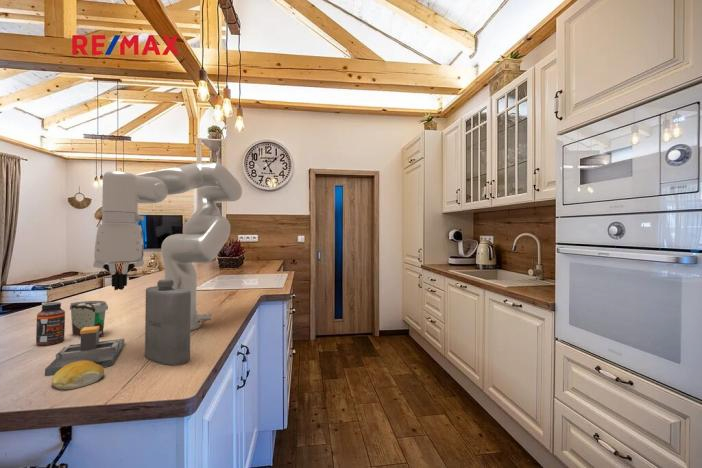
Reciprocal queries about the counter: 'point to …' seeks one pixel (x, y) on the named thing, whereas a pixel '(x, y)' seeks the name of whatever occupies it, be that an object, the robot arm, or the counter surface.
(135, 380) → the counter surface
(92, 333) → the lever
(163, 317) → the flask
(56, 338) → the supplement bottle
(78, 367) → the bread roll
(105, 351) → the panel
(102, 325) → the food container
